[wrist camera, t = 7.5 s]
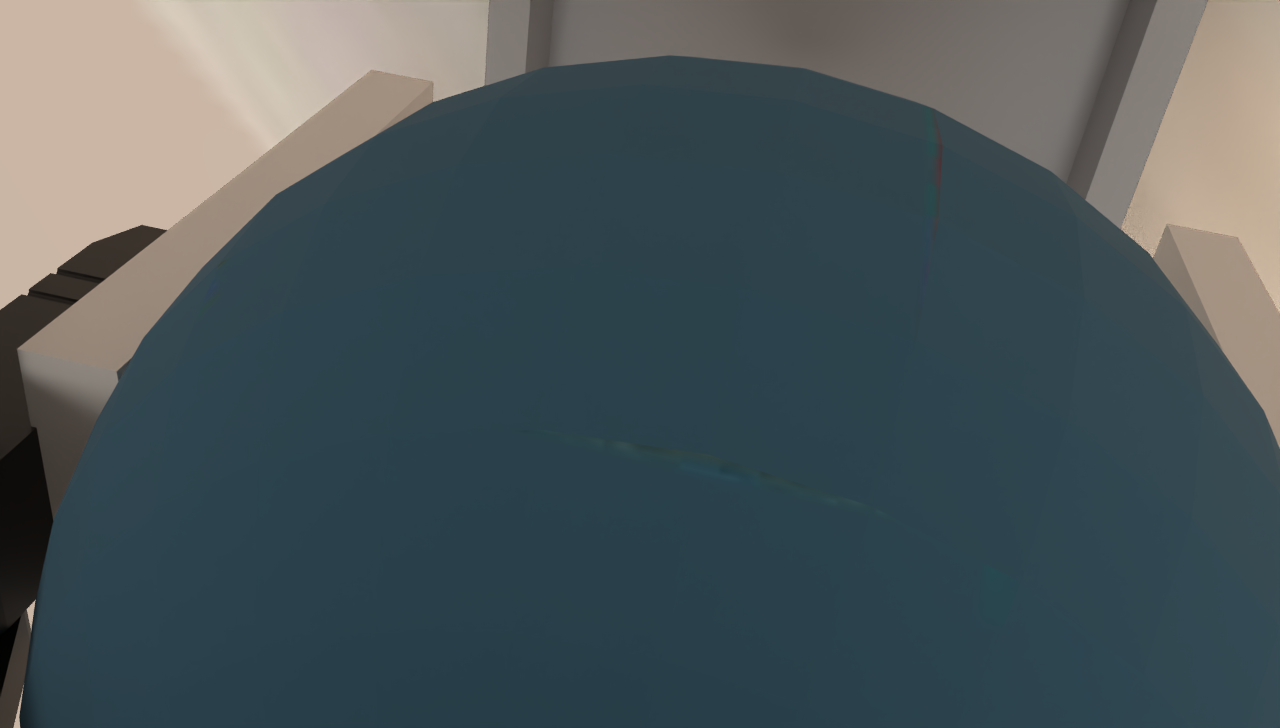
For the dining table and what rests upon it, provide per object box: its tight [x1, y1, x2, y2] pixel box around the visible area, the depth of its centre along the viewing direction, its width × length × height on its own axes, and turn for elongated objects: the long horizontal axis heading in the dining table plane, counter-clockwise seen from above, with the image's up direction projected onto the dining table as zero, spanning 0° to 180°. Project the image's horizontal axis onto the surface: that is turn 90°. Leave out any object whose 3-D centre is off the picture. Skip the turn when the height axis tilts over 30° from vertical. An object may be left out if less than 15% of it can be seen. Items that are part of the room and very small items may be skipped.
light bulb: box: [19, 55, 1280, 728], centre depth 10 cm, size 8×8×12 cm
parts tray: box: [485, 0, 1208, 229], centre depth 23 cm, size 13×13×2 cm
